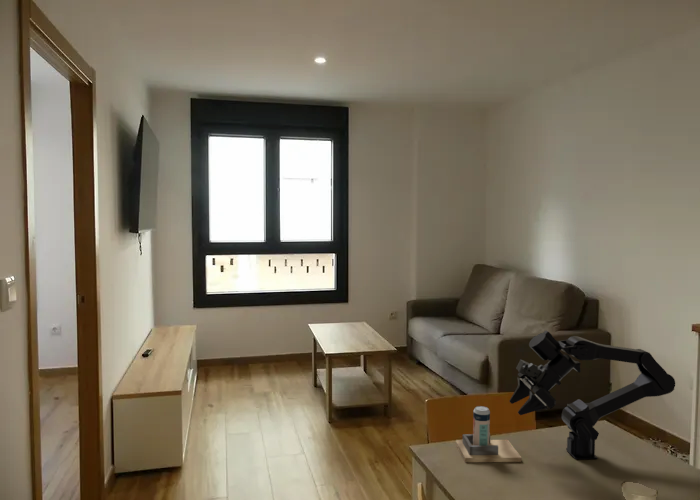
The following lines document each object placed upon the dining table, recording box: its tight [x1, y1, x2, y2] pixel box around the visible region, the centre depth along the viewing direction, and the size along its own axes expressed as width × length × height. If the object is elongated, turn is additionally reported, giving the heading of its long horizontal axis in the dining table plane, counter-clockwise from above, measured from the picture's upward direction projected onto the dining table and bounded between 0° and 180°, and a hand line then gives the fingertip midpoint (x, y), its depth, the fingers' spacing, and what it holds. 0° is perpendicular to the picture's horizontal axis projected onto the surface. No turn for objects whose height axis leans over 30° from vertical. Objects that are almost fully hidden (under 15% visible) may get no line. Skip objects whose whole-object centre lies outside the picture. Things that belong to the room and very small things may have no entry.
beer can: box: [472, 405, 491, 445], centre depth 151 cm, size 5×5×12 cm
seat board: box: [455, 433, 522, 463], centre depth 151 cm, size 16×12×4 cm
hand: (514, 408), depth 150 cm, fingers open, 9 cm apart
